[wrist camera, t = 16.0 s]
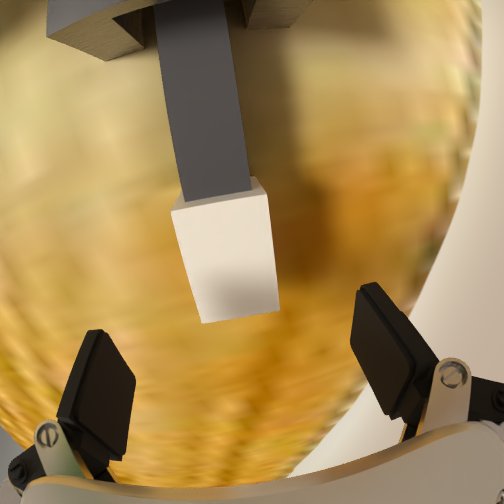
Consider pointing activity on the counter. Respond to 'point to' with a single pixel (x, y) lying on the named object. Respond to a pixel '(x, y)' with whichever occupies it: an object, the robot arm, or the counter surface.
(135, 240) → the counter surface
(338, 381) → the counter surface
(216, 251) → the plug
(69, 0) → the housing
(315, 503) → the robot arm
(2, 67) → the counter surface
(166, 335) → the counter surface
